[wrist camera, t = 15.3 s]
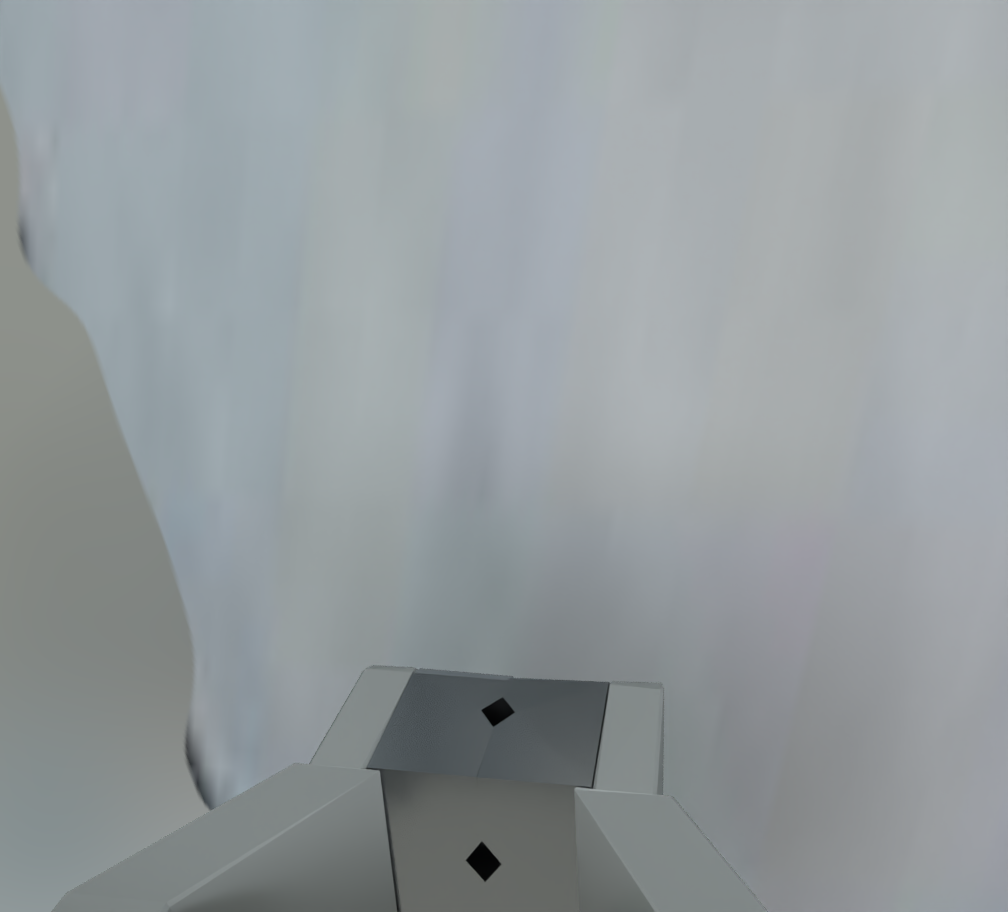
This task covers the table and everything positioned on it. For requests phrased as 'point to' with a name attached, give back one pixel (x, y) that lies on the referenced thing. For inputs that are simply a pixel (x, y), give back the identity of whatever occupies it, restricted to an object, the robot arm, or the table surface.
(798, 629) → the table surface
